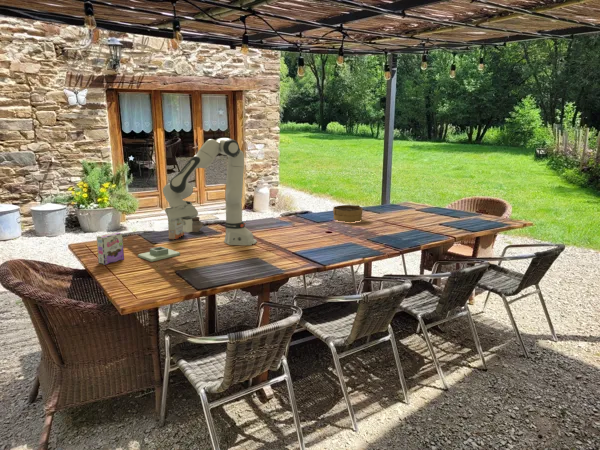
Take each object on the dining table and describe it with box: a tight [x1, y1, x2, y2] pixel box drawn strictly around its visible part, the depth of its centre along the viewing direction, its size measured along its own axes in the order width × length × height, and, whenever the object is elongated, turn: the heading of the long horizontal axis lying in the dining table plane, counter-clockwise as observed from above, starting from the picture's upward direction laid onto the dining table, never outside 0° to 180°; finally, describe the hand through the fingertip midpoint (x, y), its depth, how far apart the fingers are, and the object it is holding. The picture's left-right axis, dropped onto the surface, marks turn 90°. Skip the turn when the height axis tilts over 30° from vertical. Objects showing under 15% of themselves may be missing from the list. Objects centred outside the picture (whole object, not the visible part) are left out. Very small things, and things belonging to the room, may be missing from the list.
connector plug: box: [183, 217, 193, 233], centre depth 290 cm, size 4×4×9 cm
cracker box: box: [167, 218, 185, 240], centre depth 333 cm, size 14×6×21 cm, turn 168°
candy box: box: [96, 231, 125, 266], centre depth 276 cm, size 14×6×16 cm, turn 148°
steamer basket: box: [332, 204, 363, 222], centre depth 398 cm, size 25×25×11 cm
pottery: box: [192, 216, 204, 233], centre depth 358 cm, size 11×25×12 cm, turn 40°
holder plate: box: [137, 246, 181, 263], centre depth 289 cm, size 20×15×4 cm
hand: (188, 224), depth 290 cm, fingers closed on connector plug, 4 cm apart
